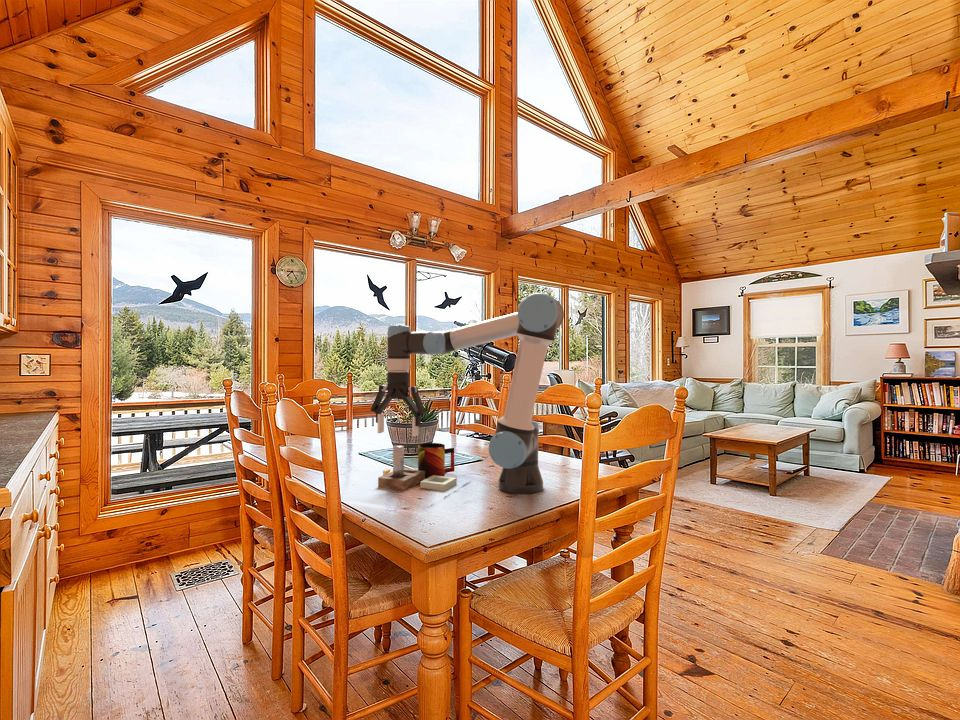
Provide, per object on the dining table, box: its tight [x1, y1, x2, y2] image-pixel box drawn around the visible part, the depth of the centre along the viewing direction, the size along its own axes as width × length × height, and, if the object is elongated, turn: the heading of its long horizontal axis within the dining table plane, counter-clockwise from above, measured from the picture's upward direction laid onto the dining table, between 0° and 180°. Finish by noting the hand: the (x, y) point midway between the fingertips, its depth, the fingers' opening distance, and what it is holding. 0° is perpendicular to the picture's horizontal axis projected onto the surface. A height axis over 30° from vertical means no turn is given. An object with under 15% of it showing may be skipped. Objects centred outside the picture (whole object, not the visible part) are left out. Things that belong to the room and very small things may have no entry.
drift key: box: [382, 468, 391, 476], centre depth 172 cm, size 10×3×4 cm, turn 67°
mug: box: [417, 442, 455, 479], centre depth 178 cm, size 10×14×12 cm
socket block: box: [377, 468, 425, 491], centre depth 166 cm, size 10×14×4 cm
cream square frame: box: [419, 475, 458, 492], centre depth 163 cm, size 9×9×3 cm
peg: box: [392, 444, 405, 478], centre depth 164 cm, size 4×4×13 cm
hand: (397, 434), depth 164 cm, fingers open, 13 cm apart
